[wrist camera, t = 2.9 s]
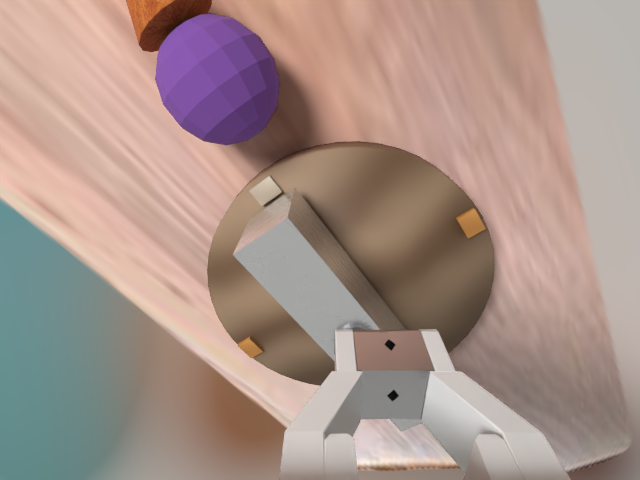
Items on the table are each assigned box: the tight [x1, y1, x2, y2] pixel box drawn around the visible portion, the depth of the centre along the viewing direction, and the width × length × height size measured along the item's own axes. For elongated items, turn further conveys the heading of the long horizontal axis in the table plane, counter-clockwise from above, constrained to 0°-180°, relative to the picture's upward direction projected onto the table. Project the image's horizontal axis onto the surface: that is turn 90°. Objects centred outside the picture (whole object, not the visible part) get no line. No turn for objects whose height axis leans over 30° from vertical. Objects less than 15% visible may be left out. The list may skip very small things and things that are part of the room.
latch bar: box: [233, 188, 422, 431], centre depth 22 cm, size 17×4×5 cm, turn 36°
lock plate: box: [207, 141, 494, 386], centre depth 25 cm, size 20×20×3 cm
